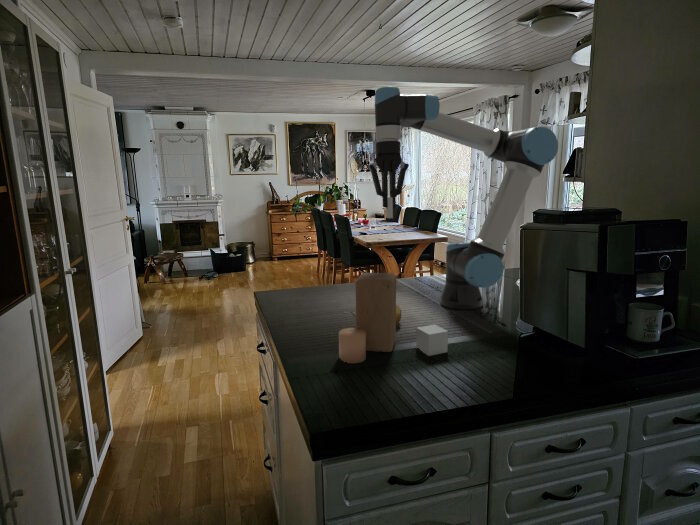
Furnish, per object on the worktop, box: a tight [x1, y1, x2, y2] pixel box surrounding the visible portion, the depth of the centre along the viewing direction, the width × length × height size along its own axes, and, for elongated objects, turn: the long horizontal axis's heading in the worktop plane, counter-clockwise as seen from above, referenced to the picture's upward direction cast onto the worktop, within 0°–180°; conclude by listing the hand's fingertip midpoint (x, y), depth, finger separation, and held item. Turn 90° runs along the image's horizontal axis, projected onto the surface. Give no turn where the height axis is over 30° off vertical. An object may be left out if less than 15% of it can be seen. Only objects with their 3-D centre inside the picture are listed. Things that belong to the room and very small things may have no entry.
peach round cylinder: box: [338, 327, 367, 364], centre depth 112 cm, size 7×7×7 cm
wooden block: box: [355, 272, 397, 353], centre depth 119 cm, size 10×10×20 cm
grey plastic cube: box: [415, 324, 449, 357], centre depth 117 cm, size 6×6×6 cm
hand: (389, 217), depth 137 cm, fingers closed
